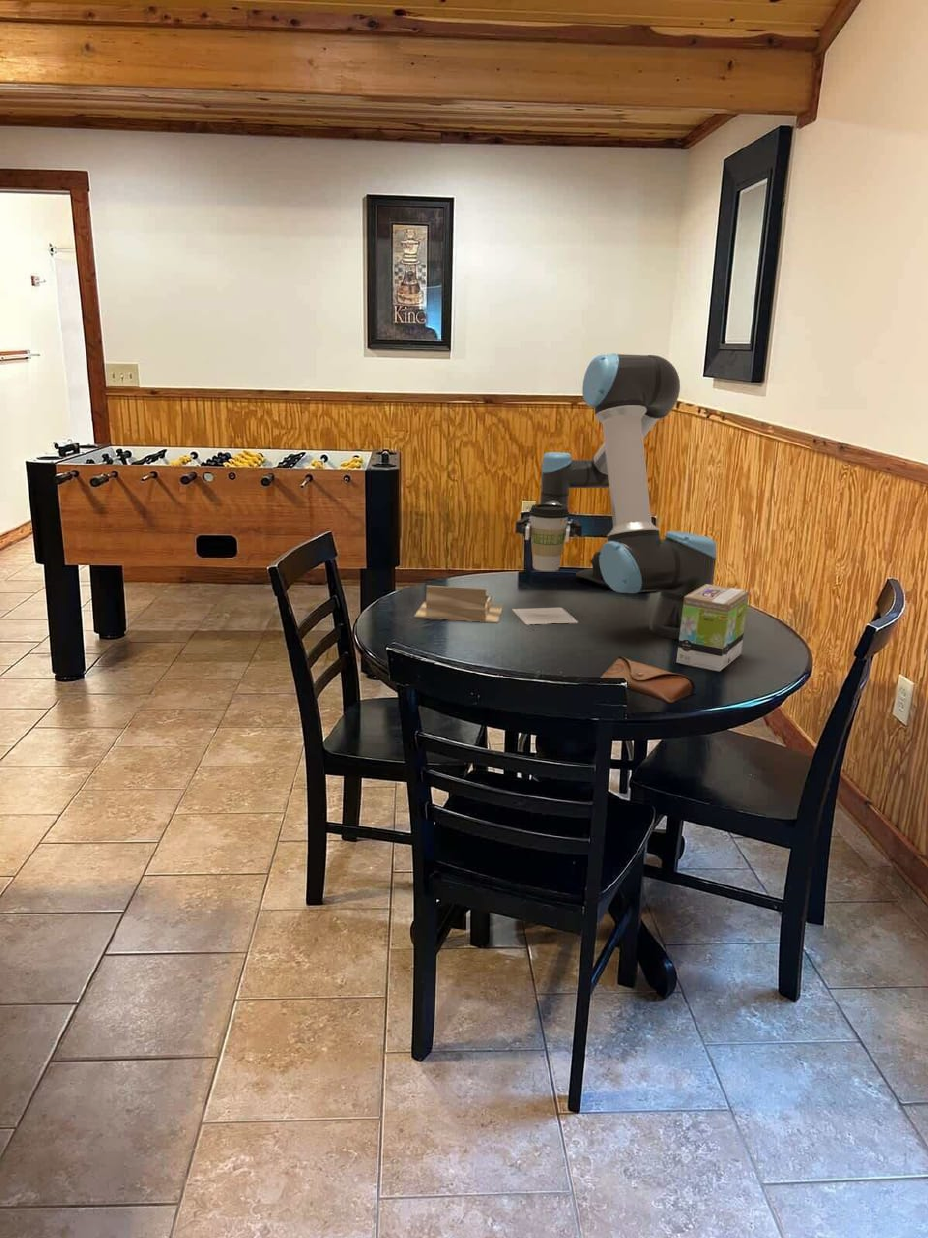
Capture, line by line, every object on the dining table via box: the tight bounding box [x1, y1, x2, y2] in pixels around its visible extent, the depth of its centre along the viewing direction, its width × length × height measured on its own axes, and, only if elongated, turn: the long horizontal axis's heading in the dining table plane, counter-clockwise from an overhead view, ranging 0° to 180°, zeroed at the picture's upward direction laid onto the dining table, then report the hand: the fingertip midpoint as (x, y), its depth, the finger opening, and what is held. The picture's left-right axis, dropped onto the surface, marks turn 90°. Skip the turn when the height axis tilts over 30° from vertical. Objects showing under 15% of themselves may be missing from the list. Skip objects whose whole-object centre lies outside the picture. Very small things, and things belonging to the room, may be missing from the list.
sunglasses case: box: [600, 655, 696, 704], centre depth 180 cm, size 18×7×7 cm
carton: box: [413, 585, 504, 624], centre depth 228 cm, size 17×20×8 cm
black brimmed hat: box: [575, 551, 610, 588], centre depth 259 cm, size 25×19×8 cm
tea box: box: [675, 584, 750, 672], centre depth 195 cm, size 15×10×15 cm
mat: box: [511, 607, 579, 626], centre depth 226 cm, size 13×13×1 cm
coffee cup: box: [528, 503, 571, 572], centre depth 221 cm, size 10×10×15 cm
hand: (547, 535), depth 216 cm, fingers closed on coffee cup, 9 cm apart
